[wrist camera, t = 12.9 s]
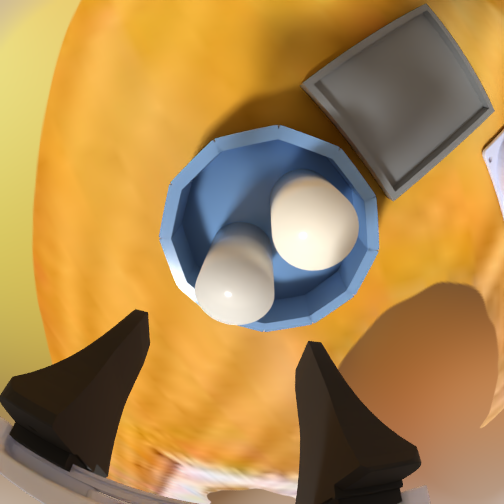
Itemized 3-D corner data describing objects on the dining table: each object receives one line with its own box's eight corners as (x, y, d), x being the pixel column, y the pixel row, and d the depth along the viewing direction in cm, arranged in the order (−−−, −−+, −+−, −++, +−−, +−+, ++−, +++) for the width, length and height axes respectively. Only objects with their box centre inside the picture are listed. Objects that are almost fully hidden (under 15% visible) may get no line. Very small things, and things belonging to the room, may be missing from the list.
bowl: (392, 233, 20) (411, 252, 17) (262, 327, 24) (261, 355, 21) (278, 87, 16) (281, 79, 13) (143, 218, 20) (123, 236, 17)
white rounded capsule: (343, 181, 18) (371, 204, 13) (321, 238, 20) (338, 278, 15) (280, 160, 17) (287, 175, 12) (261, 221, 19) (260, 258, 14)
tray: (485, 110, 15) (494, 110, 13) (386, 196, 19) (393, 201, 18) (418, 7, 12) (426, 3, 11) (299, 85, 16) (302, 83, 15)
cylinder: (283, 241, 20) (290, 282, 15) (253, 286, 22) (249, 335, 17) (228, 211, 19) (215, 244, 14) (201, 260, 21) (183, 304, 16)
